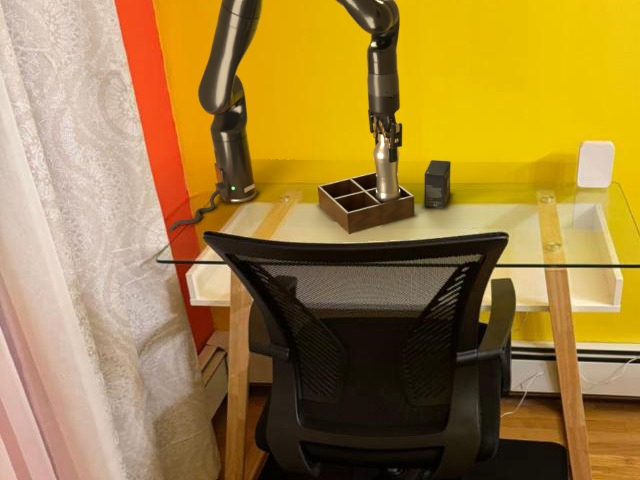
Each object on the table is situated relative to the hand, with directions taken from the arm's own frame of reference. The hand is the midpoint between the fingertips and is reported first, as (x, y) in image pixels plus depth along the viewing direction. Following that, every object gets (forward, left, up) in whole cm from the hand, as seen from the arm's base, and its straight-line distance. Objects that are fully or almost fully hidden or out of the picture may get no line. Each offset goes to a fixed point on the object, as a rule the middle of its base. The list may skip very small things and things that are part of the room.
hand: (386, 156), depth 196 cm
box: (+15, 0, -16) cm, 21 cm away
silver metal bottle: (0, 0, -14) cm, 14 cm away
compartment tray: (-4, +4, -15) cm, 17 cm away
